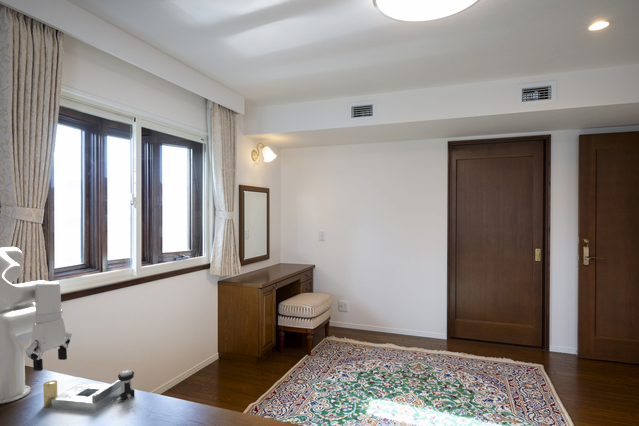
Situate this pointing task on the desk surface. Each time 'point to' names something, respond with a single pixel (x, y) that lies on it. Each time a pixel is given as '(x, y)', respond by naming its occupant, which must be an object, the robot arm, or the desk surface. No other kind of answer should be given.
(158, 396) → the desk surface
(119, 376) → the push button
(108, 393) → the jig
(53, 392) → the gold domed cylinder
